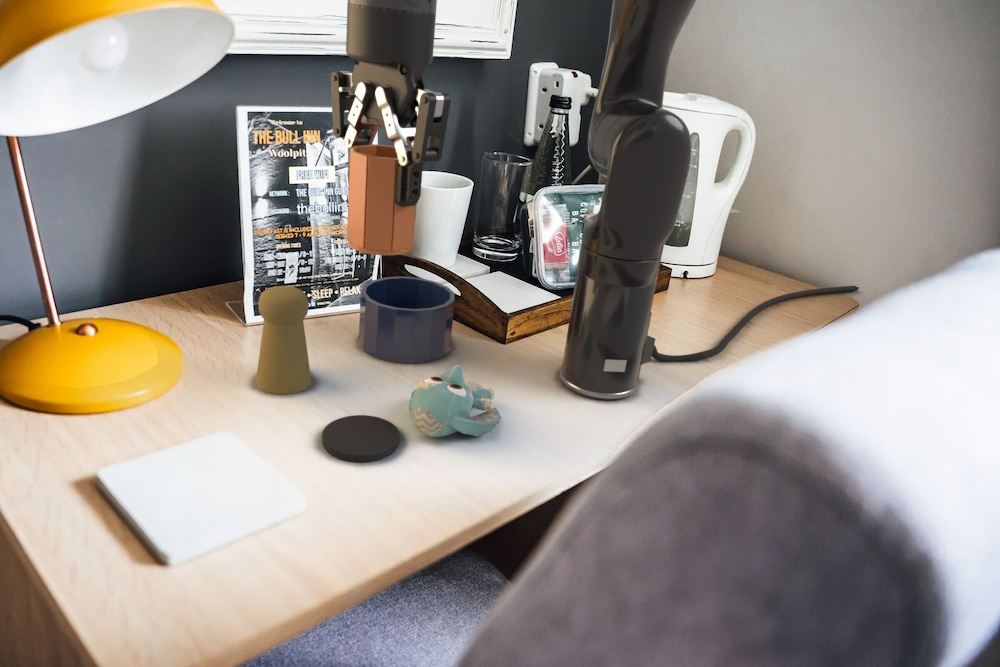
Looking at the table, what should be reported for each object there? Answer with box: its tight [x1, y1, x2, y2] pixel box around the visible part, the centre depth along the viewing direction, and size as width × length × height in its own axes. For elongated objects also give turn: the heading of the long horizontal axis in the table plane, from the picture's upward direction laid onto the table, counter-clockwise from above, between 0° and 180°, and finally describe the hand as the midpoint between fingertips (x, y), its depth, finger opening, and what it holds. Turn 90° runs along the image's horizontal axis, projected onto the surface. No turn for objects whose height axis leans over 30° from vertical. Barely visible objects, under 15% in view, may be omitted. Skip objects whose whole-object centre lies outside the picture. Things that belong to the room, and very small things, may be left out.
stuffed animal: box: [408, 364, 502, 438], centre depth 81 cm, size 11×7×12 cm
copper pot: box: [346, 143, 418, 256], centre depth 72 cm, size 6×6×9 cm
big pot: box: [358, 276, 456, 364], centre depth 98 cm, size 12×12×7 cm
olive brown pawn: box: [255, 285, 312, 395], centre depth 84 cm, size 6×6×11 cm
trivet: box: [321, 414, 401, 463], centre depth 77 cm, size 8×8×1 cm
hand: (382, 195), depth 72 cm, fingers closed on copper pot, 6 cm apart
